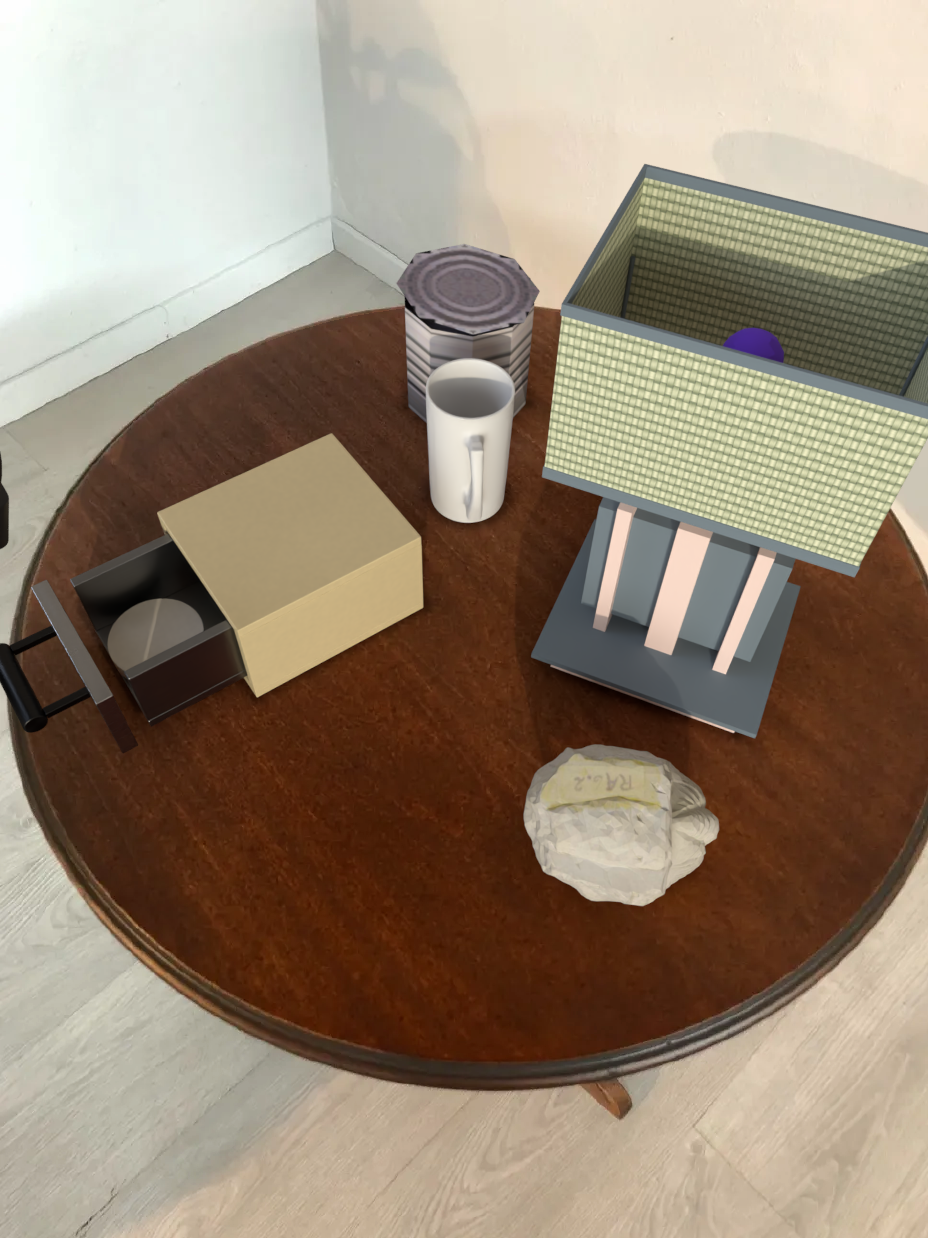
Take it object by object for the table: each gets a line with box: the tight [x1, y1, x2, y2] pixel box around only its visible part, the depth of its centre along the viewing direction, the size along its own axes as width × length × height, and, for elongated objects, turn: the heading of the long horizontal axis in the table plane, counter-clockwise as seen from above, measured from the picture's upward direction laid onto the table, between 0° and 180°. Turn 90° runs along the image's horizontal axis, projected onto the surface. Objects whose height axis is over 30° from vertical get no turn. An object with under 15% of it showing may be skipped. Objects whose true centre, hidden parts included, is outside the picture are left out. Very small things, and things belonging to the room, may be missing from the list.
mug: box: [426, 358, 515, 524], centre depth 80 cm, size 10×7×12 cm, turn 5°
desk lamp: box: [530, 163, 928, 739], centre depth 65 cm, size 18×14×33 cm
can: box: [395, 243, 540, 424], centre depth 89 cm, size 11×11×12 cm
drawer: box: [0, 533, 248, 754], centre depth 72 cm, size 18×11×7 cm, turn 125°
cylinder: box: [107, 599, 205, 678], centre depth 73 cm, size 7×7×2 cm
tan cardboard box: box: [157, 432, 424, 698], centre depth 76 cm, size 15×13×9 cm
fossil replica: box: [523, 743, 720, 907], centre depth 65 cm, size 12×8×10 cm
